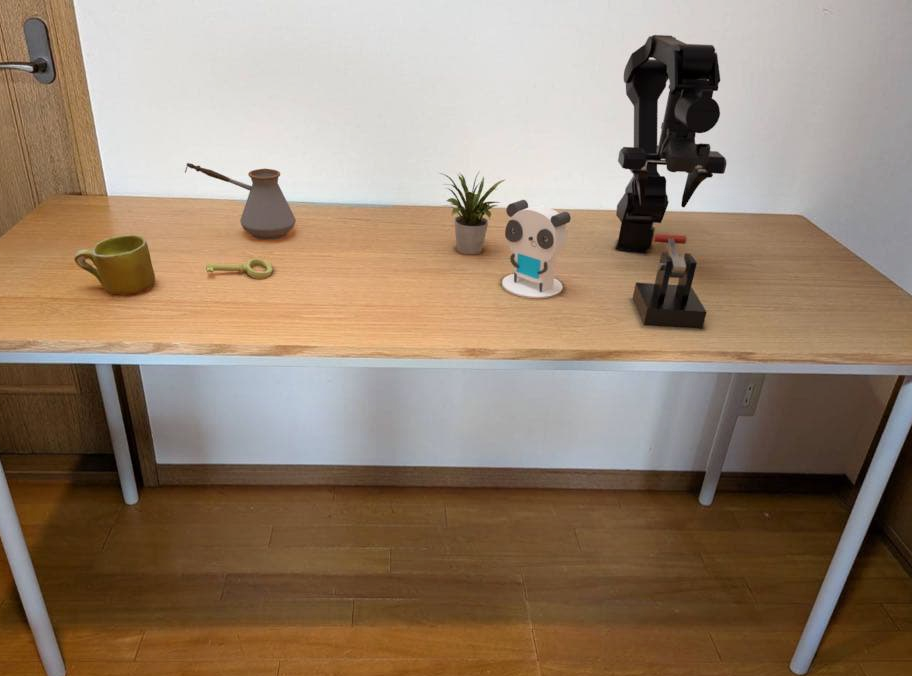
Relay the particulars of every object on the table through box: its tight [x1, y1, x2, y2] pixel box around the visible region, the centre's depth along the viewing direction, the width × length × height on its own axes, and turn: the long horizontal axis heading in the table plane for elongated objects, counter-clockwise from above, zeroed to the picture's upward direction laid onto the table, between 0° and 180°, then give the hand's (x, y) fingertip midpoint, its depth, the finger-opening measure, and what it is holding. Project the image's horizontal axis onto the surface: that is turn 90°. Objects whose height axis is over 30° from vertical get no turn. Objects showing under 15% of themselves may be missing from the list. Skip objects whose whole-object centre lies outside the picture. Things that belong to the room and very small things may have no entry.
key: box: [205, 258, 273, 280], centre depth 140 cm, size 7×12×2 cm, turn 124°
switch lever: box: [652, 233, 687, 279], centre depth 130 cm, size 10×6×2 cm, turn 177°
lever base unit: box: [632, 251, 707, 330], centre depth 130 cm, size 11×10×11 cm
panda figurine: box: [501, 199, 571, 299], centre depth 137 cm, size 12×11×15 cm
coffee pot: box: [184, 162, 297, 241], centre depth 154 cm, size 21×12×15 cm, turn 99°
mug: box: [73, 234, 156, 296], centre depth 132 cm, size 12×10×10 cm
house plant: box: [439, 169, 506, 255], centre depth 151 cm, size 14×14×16 cm
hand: (662, 205), depth 143 cm, fingers open, 8 cm apart
